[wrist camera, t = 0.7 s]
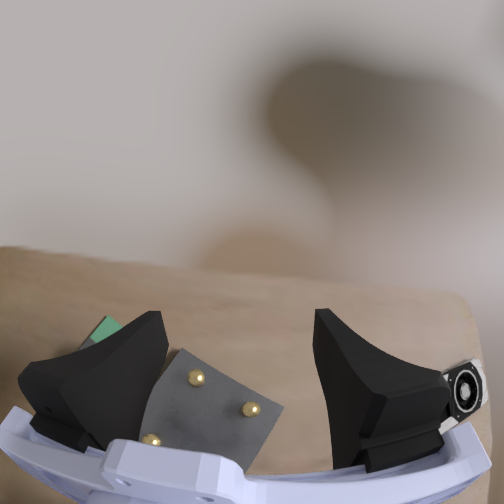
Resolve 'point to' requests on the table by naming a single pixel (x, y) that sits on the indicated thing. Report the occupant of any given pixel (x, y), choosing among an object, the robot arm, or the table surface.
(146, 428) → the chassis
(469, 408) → the graphics card
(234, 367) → the table surface
